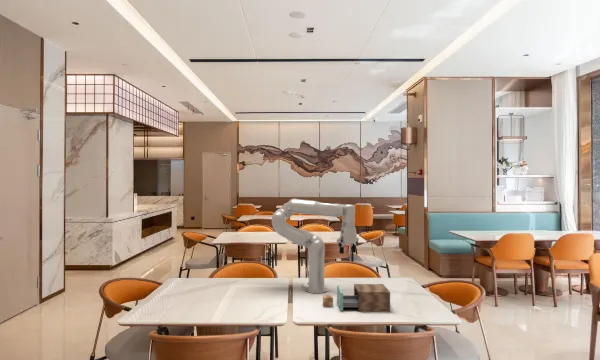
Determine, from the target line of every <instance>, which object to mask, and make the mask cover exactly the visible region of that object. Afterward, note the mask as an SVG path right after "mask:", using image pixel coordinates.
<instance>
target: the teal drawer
mask: <svg viewBox="0 0 600 360" xmlns="http://www.w3.org/2000/svg"><path fill="white" fill-rule="evenodd" d="M336 303H337V305H338V308H339V310H340V312H342V311H344V308H357V307H359V295H354V294H351V295H350V294H348V295H344V292H343V290H342V288H341V286H340V284H337V285H336Z"/></svg>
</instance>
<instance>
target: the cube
mask: <svg viewBox="0 0 600 360" xmlns="http://www.w3.org/2000/svg"><path fill="white" fill-rule="evenodd" d="M322 307H323V308H334V295H332V294H329V295H328V294H323V295H322Z"/></svg>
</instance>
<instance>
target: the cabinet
mask: <svg viewBox="0 0 600 360" xmlns="http://www.w3.org/2000/svg"><path fill="white" fill-rule="evenodd" d="M353 295H359V307H356V308H357V311H358V312H359V313H360V312H362V313H363V312H365V313H366V312H368V313H370V312H371V313H372V312H375V313H376V312H377V313H379V312H381V313H382V312H384V313H385V312H389V313H390V312H391V291H390V290H389V289H388V288H387V287H386V285H384V284H383V283H354V284H353Z"/></svg>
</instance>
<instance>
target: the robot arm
mask: <svg viewBox="0 0 600 360" xmlns="http://www.w3.org/2000/svg"><path fill="white" fill-rule="evenodd" d="M295 214H304V215H305V214H306V215H313V216H322V217H324V216H325V217H333V218H338V217H341V216H342V223H341V229H340V235H339V238H337V239H336V243H337V245H338V248H339V254H342V255H343V254H345V245H351V249H350V250H351V253H354V254H355V253H356V249H357V248H356V247H357V245H358V244H359V240H360V239H359V237H357V228H356V225H355V224H356V205H354V204H351V203H350V204H349V203H348V204H347V203H346V204H344V203H343V204H342V203H327V202H326V203H325V202H320V201H317V200H310V199H299V198H291V199H289V201H288V202H287V201H286V203H284V204H283V205H282V206H281V207H279V208H278V209H276V211H274V212H273V213H272V215H271V225H272V228H273V230H274V232H276V234H278V235H279V236H281V237H283V238H285V239H286V240H288V241H290V242H292V243H294V244H295V245H297V246H298V247H299V246H300V247H305V248H307V249H308V282H307V283H301V285H300V286H301V288H303V289H304V288H305V291H306V292H308V293H311V294H325V293H326V292H328V289H327V287H325V255H326V254H325V253H326V245H325V242H324V240H323V239H322V237H320V236H318V235H316V234H314V233H312V232H310V231H307V230H306V229H303V228H297V227H295V226H294V225H291V224H289V223H287V220H289V218H290V217H292V216H294V215H295Z"/></svg>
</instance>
